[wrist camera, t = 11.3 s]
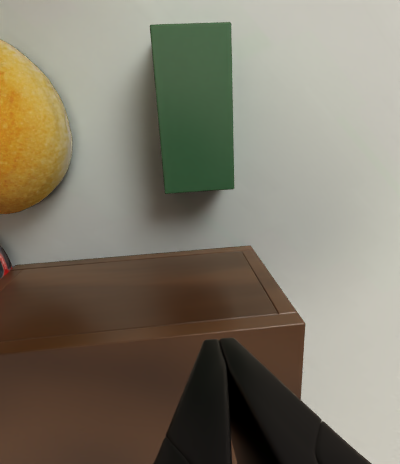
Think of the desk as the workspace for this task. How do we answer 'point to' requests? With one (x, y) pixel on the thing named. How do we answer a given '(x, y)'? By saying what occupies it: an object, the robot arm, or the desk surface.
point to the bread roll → (29, 133)
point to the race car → (4, 263)
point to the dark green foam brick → (194, 105)
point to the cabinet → (127, 347)
